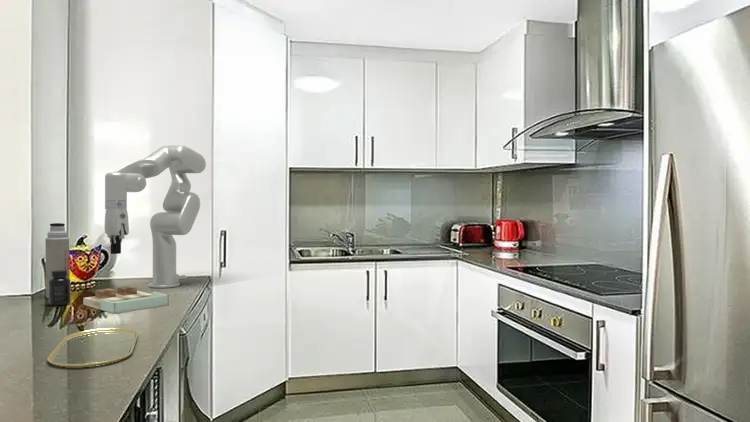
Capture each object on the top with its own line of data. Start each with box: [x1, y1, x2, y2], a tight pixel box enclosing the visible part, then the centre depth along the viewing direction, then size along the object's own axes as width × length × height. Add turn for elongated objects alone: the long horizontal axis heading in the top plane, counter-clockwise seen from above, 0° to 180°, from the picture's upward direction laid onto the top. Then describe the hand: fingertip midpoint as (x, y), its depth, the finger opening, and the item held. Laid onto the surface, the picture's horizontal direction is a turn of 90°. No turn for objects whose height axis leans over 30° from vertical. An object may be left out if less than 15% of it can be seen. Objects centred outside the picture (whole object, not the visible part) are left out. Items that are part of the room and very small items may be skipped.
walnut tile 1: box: [116, 285, 138, 296], centre depth 209 cm, size 5×5×2 cm
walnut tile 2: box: [94, 288, 117, 299], centre depth 202 cm, size 5×5×2 cm
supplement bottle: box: [48, 270, 72, 307], centre depth 200 cm, size 7×7×12 cm
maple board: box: [82, 290, 153, 310], centre depth 204 cm, size 20×12×2 cm, turn 142°
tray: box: [99, 291, 170, 314], centre depth 198 cm, size 20×10×4 cm, turn 142°
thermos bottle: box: [45, 222, 71, 299], centre depth 215 cm, size 8×8×28 cm
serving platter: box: [46, 327, 139, 369], centre depth 146 cm, size 19×35×2 cm, turn 19°
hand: (115, 253), depth 213 cm, fingers closed
